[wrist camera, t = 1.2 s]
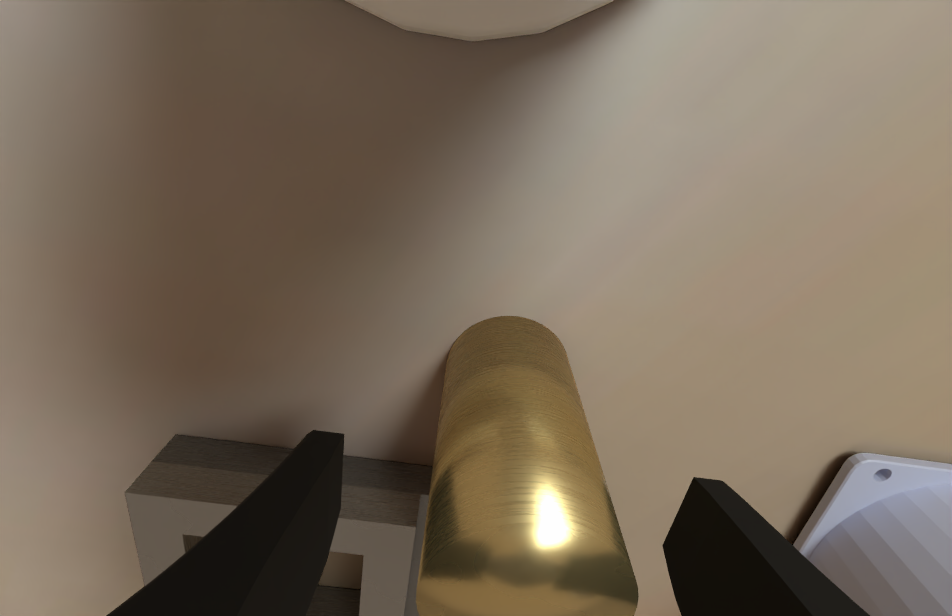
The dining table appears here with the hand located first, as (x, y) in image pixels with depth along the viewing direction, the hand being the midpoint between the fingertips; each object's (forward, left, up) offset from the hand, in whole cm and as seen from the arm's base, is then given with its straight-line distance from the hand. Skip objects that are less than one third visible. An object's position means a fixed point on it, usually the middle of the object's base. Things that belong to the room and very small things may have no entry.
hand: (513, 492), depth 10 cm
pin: (0, 0, -5) cm, 5 cm away
